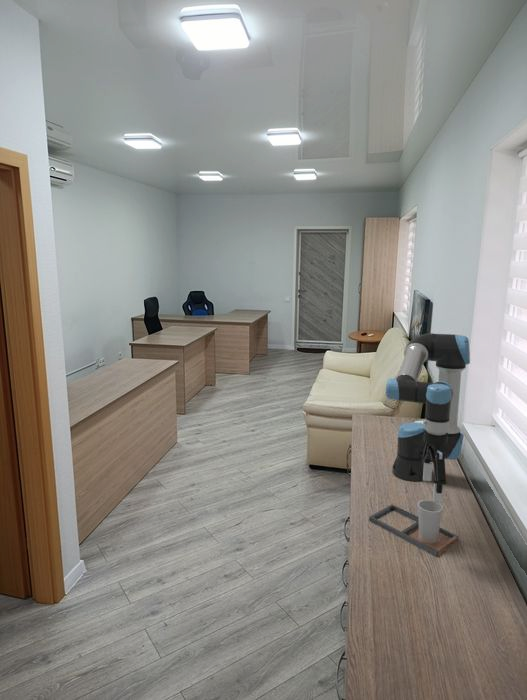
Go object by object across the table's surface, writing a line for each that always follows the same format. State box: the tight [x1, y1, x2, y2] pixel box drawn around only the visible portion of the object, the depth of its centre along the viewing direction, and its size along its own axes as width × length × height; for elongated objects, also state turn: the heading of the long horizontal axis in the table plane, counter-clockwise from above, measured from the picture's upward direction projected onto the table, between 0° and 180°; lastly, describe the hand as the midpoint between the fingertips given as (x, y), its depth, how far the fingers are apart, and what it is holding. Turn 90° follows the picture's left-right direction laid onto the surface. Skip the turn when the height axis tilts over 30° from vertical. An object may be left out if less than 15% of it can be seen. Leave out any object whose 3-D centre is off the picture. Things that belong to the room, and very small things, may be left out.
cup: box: [417, 499, 444, 543], centre depth 153 cm, size 8×8×12 cm
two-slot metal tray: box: [368, 504, 460, 557], centre depth 159 cm, size 27×14×2 cm, turn 39°
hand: (432, 490), depth 152 cm, fingers open, 13 cm apart
